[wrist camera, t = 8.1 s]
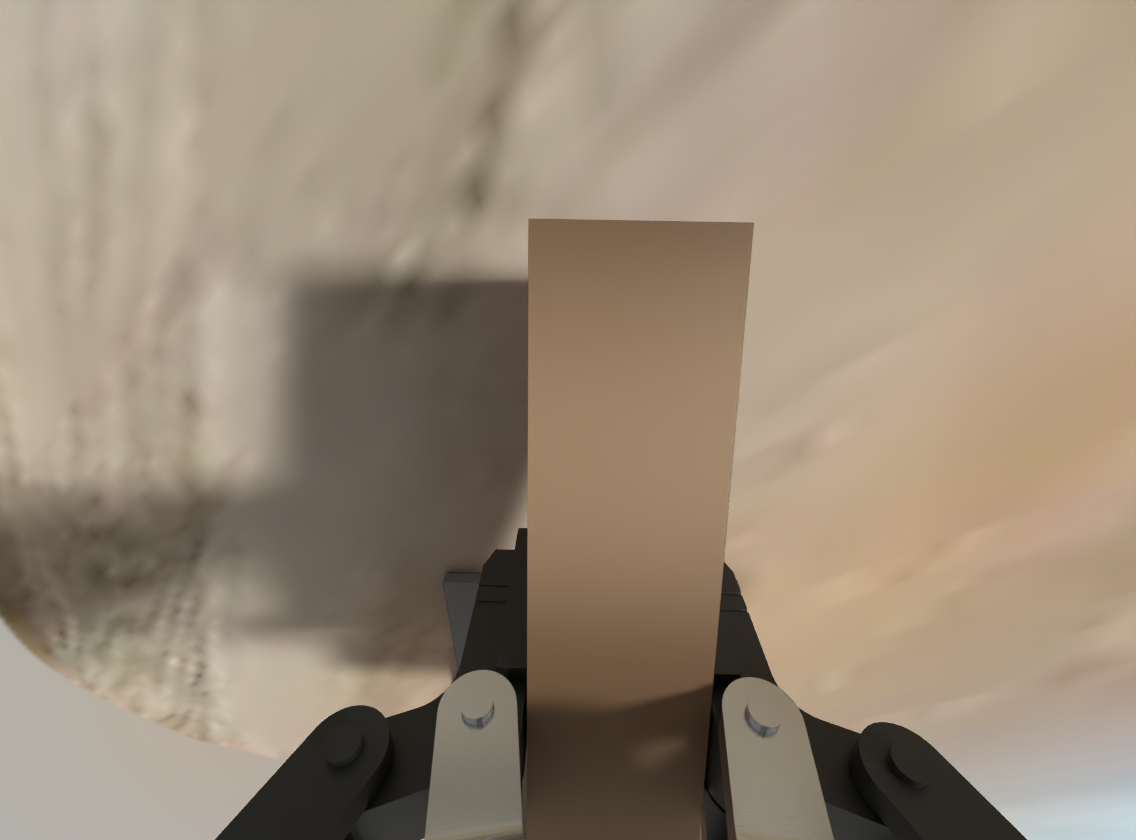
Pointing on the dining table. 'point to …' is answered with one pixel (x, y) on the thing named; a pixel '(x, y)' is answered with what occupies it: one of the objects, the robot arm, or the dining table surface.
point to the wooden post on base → (627, 517)
